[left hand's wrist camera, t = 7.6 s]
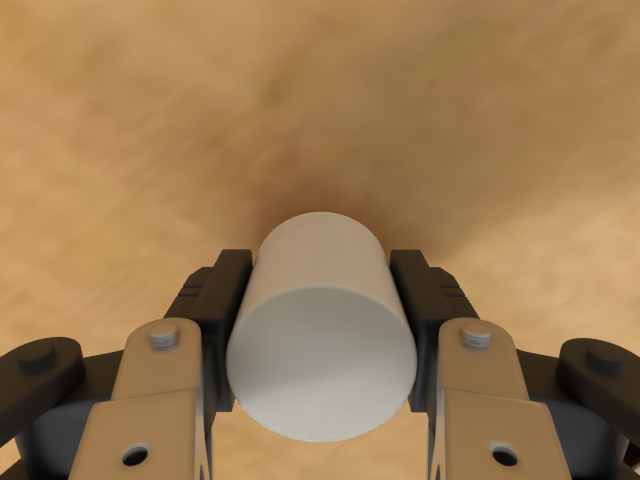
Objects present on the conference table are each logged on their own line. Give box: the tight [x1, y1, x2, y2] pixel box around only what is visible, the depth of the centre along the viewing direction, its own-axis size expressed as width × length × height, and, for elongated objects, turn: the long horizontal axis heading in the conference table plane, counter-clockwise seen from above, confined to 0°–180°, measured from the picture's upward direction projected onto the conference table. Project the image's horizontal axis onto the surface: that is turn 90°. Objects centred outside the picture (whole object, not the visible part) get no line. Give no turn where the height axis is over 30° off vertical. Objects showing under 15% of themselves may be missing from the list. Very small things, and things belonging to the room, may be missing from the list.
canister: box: [225, 212, 418, 442], centre depth 10 cm, size 4×4×4 cm
